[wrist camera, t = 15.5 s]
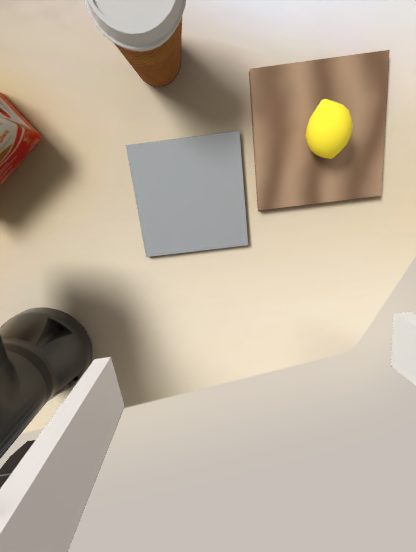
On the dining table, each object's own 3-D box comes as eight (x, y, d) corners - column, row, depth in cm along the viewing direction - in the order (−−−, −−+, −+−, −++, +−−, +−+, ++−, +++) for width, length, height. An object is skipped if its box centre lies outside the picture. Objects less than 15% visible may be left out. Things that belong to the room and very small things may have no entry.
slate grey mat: (147, 256, 39) (146, 257, 38) (127, 146, 35) (125, 145, 34) (247, 244, 39) (248, 245, 38) (238, 132, 35) (239, 130, 34)
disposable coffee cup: (113, 84, 33) (63, 15, 22) (131, 2, 31) (87, -124, 19) (180, 110, 34) (167, 57, 22) (202, 32, 32) (200, -72, 20)
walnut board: (257, 210, 37) (259, 210, 36) (249, 73, 33) (250, 68, 32) (376, 196, 37) (381, 195, 36) (384, 54, 33) (389, 49, 32)
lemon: (340, 153, 35) (364, 149, 30) (303, 166, 36) (321, 164, 30) (334, 97, 33) (359, 83, 28) (294, 112, 33) (312, 100, 28)
